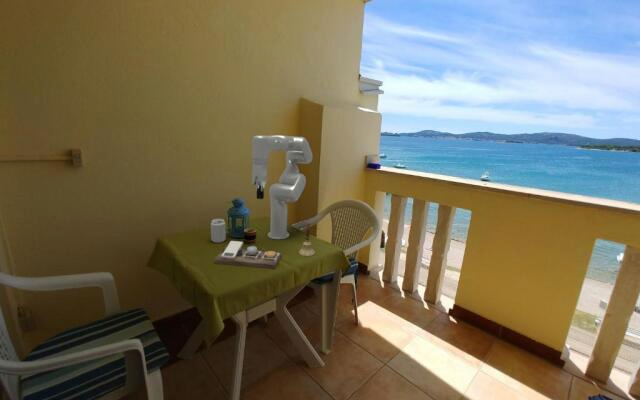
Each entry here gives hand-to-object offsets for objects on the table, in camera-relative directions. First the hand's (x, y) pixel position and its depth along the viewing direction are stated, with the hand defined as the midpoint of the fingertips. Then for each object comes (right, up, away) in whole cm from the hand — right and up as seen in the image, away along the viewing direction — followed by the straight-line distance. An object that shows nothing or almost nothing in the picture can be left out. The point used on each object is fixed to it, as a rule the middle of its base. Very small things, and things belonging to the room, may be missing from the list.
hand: (260, 198), depth 132 cm
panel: (-4, -29, -7) cm, 30 cm away
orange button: (+7, -28, -8) cm, 30 cm away
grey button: (-2, -26, -8) cm, 27 cm away
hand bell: (+23, -28, +4) cm, 37 cm away
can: (-26, -24, +13) cm, 37 cm away
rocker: (-11, -24, -7) cm, 28 cm away
